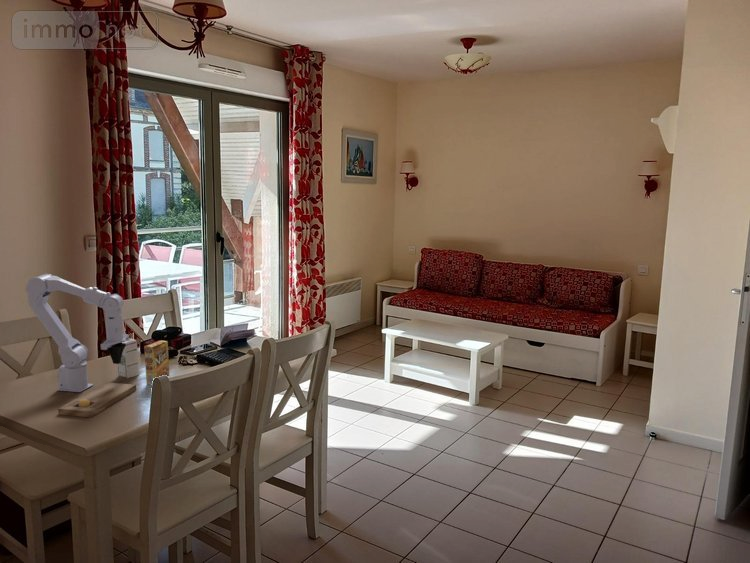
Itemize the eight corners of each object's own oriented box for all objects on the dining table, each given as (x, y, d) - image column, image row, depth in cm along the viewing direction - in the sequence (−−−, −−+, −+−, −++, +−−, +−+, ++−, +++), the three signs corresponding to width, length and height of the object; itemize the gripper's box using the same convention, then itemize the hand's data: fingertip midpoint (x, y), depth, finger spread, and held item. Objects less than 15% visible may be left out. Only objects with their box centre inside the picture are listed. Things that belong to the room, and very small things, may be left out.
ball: (81, 402, 201) (83, 411, 200) (75, 400, 197) (77, 410, 196) (90, 398, 201) (93, 407, 200) (85, 396, 198) (87, 406, 197)
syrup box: (139, 374, 234) (137, 339, 232) (126, 378, 229) (124, 343, 227) (130, 372, 237) (128, 337, 235) (117, 376, 232) (115, 340, 230)
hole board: (58, 414, 194) (57, 408, 194) (106, 387, 220) (106, 382, 219) (91, 417, 192) (90, 411, 192) (136, 389, 218) (136, 384, 217)
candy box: (155, 386, 222) (153, 346, 219) (145, 384, 223) (143, 345, 221) (170, 378, 230) (168, 340, 228) (161, 377, 232) (159, 339, 229)
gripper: (112, 333, 208) (114, 370, 211) (135, 323, 222) (137, 358, 225) (94, 332, 209) (96, 368, 212) (118, 322, 223) (120, 356, 226)
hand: (116, 363), depth 218 cm, fingers closed
